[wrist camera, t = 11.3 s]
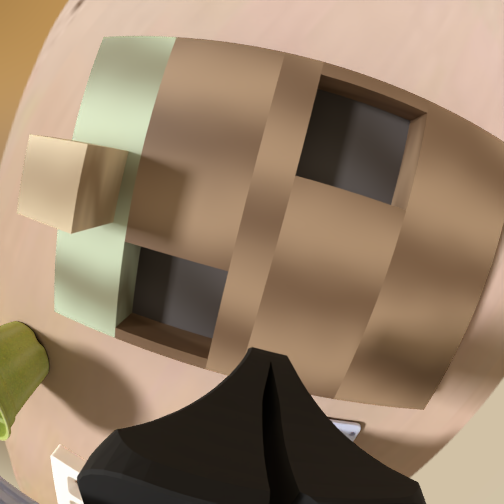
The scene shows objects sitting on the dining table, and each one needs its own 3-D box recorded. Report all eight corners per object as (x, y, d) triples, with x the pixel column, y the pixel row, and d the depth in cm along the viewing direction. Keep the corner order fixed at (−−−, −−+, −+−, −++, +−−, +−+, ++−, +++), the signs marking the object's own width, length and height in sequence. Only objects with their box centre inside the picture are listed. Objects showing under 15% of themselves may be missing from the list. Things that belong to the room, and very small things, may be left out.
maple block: (113, 222, 16) (70, 233, 12) (61, 205, 16) (16, 213, 12) (128, 151, 15) (87, 144, 11) (74, 140, 15) (29, 134, 11)
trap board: (410, 386, 20) (423, 409, 17) (77, 297, 21) (54, 311, 18) (491, 152, 16) (516, 150, 13) (124, 52, 17) (103, 36, 14)
